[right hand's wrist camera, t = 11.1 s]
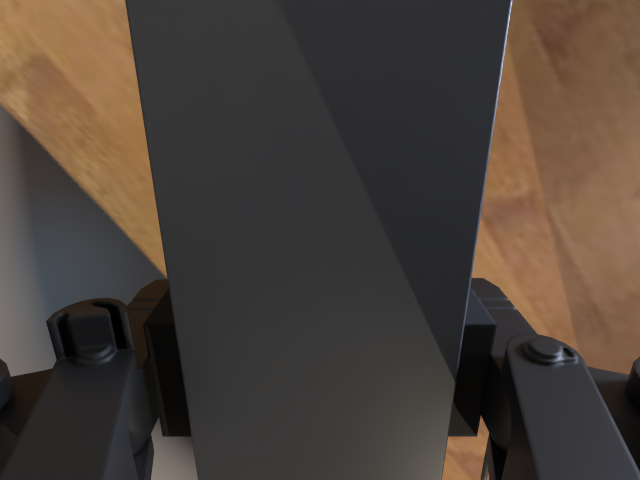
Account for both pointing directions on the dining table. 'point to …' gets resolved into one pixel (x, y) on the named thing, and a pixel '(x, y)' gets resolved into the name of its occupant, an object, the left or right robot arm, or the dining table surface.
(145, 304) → the right robot arm
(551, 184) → the dining table surface
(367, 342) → the bar
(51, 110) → the dining table surface
